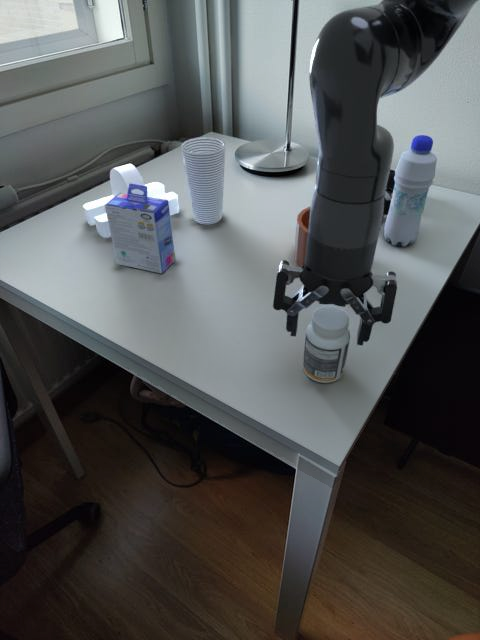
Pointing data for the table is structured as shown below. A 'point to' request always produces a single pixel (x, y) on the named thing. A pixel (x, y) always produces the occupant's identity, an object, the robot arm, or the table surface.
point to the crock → (301, 236)
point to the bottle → (410, 191)
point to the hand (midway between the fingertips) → (326, 336)
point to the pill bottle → (326, 344)
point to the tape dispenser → (120, 184)
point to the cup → (205, 177)
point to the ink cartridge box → (141, 230)
